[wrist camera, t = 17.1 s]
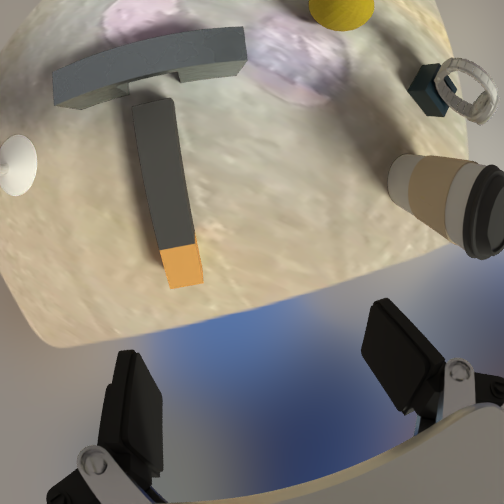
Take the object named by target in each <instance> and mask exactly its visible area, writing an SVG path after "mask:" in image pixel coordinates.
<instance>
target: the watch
mask: <svg viewBox="0 0 504 504" xmlns="http://www.w3.org/2000/svg"><path fill="white" fill-rule="evenodd" d="M477 66H478V65H477V64H475V63H474V62H472V61H469V60H467V59H462V58H450V59H448V60H446V61H445V62H444V63H443V64H442V66H441V65H440V64H439V63H437V64H428V65H422V67H421V68H420V70H419V72H418V74H417V75H416V77H415V79H414V81H413V82H412V84H411V86H410V88H409V89H408V91H407V92H408V93H409V94H410V95H411V96H412V98H413V99H414V100H415V101H416V103H417V104H418V105H419V106H420V108H421V109H422V110H423V112H424V113H425V114H426V116H436V117H444V116H445V114H446V112H447V110H448V108H449V107H450V108H452V109H453V110H454V111H455V112H457V111H458V112H457V113H459V114H460V115H462V116H464V117H466V118H467V119H468V120H469V121H472V122H475V123H477V124H478V125H480V126H481V125H483V124H485V123H486V122H488V121H489V120H490V119H491V117H492V116H493V115H494V113H495V111H496V109H497V108H498V105H499V101H500V98H499V96H498V95H497V93H498V89H497V87H496V85H495V83H494V81H493V79H492V78H491V76H490V75H489V74H488V73H487V72H486V71H485V70H484V69H483V68H481V67H480V66H478V67H477ZM473 69H474V70H473ZM458 70H459V71H461V72H464V73H467V74H468V75H469V76H471V77H474V79H475V80H476V81H477V82H478V83H481V86H482V87H483V88H484V89H485V91H484V92H483V93H481V95H480V96H479V97H478V98H477V100H476V101H474V102H473V105H472V104H470V103H468V102H466V101H464V100H463V101H462V99H461V98H459V97H458V96H456V95H455V93H456V91H457V88H456V87H455V85H454V84H453V82H452V81H451V79H450V78H449V76H448V75H449V74H450V73H451V72H454V71H458ZM472 71H473V72H472ZM457 105H458V106H457ZM456 107H457V108H456ZM463 110H464V111H463Z"/></svg>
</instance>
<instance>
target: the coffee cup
mask: <svg viewBox="0 0 504 504" xmlns="http://www.w3.org/2000/svg"><path fill="white" fill-rule="evenodd" d="M387 183H388V191H389V195H390V197H391V199H392V200H393V202H394V203H395V204H396V205H398V206H399V207H401V208H403V209H404V210H406V211H408V212H409V213H411V214H412V215H414V216H415V217H416V218H417V219H419V220H420V221H422V222H423V223H425V224H426V225H428V226H429V227H430V228H432V229H433V230H435V231H436V232H438V233H439V234H440V235H442V236H443V237H445V238H446V239H447V240H449V241H450V242H451V243H453V244H455V245H458V246H460V247H461V248H462V249H464V250H465V251H466V253H467V255H468V256H469V257H471V258H478V259H480V260H484V259H487V258H489V257H491V256H495V255H497V254H499V253H500V252H501V251H502V250H503V249H504V172H503V171H502V170H500V169H499V168H498V167H497V166H495V165H488V166H485V165H480V164H478V163H477V162H474V161H469V160H462V159H455V158H448V157H440V156H421V155H411V154H405V155H402V156H400V157H398V158H397V159H396V160H395V161H394V162H393V164H392V166H391V168H390V170H389V174H388V182H387Z"/></svg>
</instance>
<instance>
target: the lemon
mask: <svg viewBox="0 0 504 504" xmlns="http://www.w3.org/2000/svg"><path fill="white" fill-rule="evenodd" d="M309 10H310V13H311V15H312V16H313V18H314V19H315V20H316V21H317V22H318V23H319V24H320V25H322V26H323V27H325V28H327V29H331V30H334V31H349V30H353V29H356V28H358V27H360V26H362V25H363V24H365V23H366V22H367V21H368V20H369V18H370V17H371V16H372V14H373V11H374V1H373V0H309Z"/></svg>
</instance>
